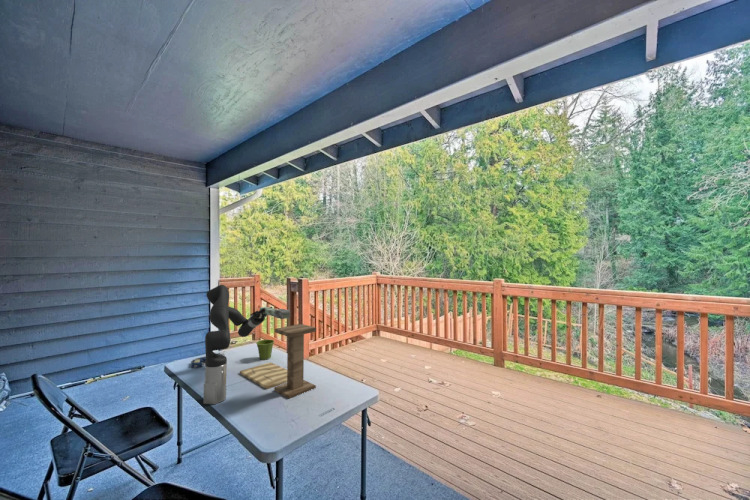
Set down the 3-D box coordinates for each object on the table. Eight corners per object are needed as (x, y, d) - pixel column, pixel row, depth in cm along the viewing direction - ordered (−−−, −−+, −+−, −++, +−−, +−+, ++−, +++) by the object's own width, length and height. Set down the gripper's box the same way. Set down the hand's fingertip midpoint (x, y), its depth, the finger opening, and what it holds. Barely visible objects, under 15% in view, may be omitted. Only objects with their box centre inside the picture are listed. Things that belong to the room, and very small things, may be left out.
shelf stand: (315, 388, 159) (316, 327, 160) (289, 398, 147) (289, 333, 148) (300, 381, 168) (300, 323, 169) (274, 390, 156) (275, 328, 157)
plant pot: (256, 356, 210) (256, 340, 210) (274, 354, 213) (274, 338, 213) (255, 362, 198) (255, 344, 199) (273, 360, 202) (274, 343, 202)
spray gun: (230, 361, 199) (221, 357, 209) (229, 355, 199) (221, 351, 209) (194, 371, 184) (187, 365, 194) (194, 364, 184) (187, 359, 194)
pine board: (299, 378, 172) (299, 375, 172) (266, 389, 157) (266, 386, 157) (270, 364, 193) (270, 362, 194) (239, 373, 179) (239, 370, 179)
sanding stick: (290, 317, 166) (290, 310, 166) (281, 319, 163) (282, 311, 163) (266, 311, 184) (266, 305, 184) (259, 312, 180) (259, 306, 180)
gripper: (243, 315, 184) (255, 304, 174) (265, 312, 194) (277, 301, 184) (246, 327, 181) (258, 316, 171) (268, 323, 191) (280, 313, 182)
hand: (268, 308), depth 178 cm, fingers closed on sanding stick, 4 cm apart
